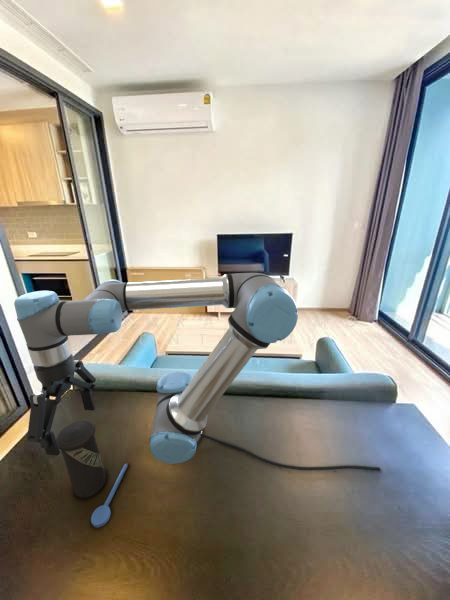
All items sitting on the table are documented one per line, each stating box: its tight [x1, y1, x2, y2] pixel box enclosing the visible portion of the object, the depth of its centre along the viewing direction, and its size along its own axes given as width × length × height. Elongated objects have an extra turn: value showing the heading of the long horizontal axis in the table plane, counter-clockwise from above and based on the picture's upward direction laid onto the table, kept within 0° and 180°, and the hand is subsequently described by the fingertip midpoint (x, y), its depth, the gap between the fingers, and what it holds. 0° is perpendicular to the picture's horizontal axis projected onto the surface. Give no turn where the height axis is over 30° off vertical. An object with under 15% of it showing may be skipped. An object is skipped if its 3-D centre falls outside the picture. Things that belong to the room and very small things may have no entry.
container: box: [55, 419, 107, 499], centre depth 68 cm, size 9×9×20 cm
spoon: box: [90, 463, 129, 528], centre depth 68 cm, size 16×4×1 cm, turn 173°
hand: (73, 429), depth 64 cm, fingers open, 13 cm apart
